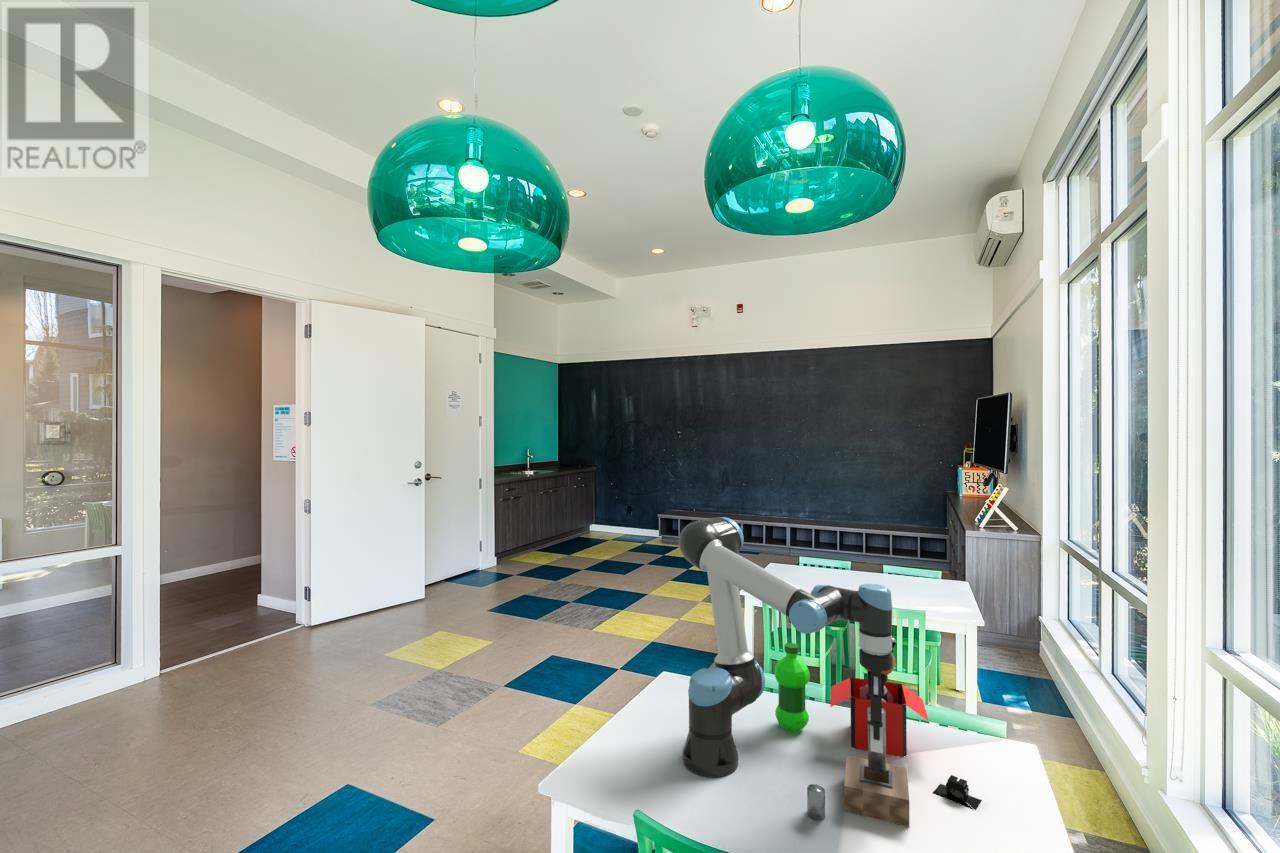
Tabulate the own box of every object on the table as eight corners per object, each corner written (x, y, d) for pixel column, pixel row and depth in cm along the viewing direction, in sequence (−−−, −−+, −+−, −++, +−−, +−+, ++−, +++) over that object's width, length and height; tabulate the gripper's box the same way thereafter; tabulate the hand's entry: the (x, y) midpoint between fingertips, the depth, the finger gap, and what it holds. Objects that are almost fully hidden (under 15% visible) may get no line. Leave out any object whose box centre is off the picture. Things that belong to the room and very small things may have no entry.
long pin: (868, 770, 139) (867, 712, 139) (868, 761, 143) (867, 704, 143) (886, 774, 138) (885, 715, 138) (885, 765, 141) (885, 707, 142)
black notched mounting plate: (990, 803, 140) (989, 784, 140) (981, 817, 135) (981, 798, 135) (935, 782, 149) (935, 764, 149) (925, 794, 144) (925, 775, 144)
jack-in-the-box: (922, 734, 172) (921, 633, 172) (929, 762, 157) (928, 651, 158) (831, 720, 180) (831, 623, 181) (830, 745, 166) (830, 640, 166)
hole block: (844, 811, 136) (844, 784, 137) (847, 778, 149) (847, 753, 149) (909, 826, 131) (909, 798, 131) (906, 791, 144) (906, 766, 144)
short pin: (806, 818, 134) (806, 792, 134) (808, 807, 138) (808, 782, 138) (824, 822, 132) (824, 796, 133) (825, 812, 136) (825, 786, 136)
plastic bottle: (793, 740, 168) (793, 654, 168) (767, 725, 177) (767, 643, 177) (816, 730, 174) (816, 647, 174) (790, 716, 182) (789, 637, 183)
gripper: (893, 664, 131) (894, 768, 131) (891, 640, 147) (892, 733, 147) (858, 660, 134) (859, 761, 134) (860, 636, 150) (861, 727, 150)
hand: (876, 746), depth 140 cm, fingers closed on long pin, 4 cm apart
